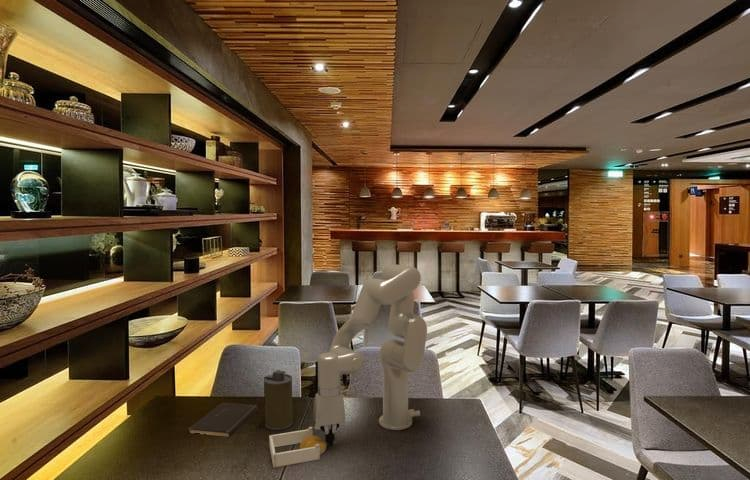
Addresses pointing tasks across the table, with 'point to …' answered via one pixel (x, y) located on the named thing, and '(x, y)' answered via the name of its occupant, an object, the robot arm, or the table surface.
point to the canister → (278, 400)
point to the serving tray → (293, 455)
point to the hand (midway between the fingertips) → (329, 443)
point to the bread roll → (313, 443)
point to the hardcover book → (224, 419)
